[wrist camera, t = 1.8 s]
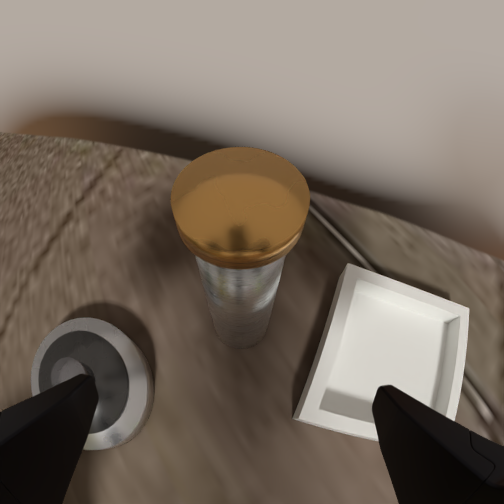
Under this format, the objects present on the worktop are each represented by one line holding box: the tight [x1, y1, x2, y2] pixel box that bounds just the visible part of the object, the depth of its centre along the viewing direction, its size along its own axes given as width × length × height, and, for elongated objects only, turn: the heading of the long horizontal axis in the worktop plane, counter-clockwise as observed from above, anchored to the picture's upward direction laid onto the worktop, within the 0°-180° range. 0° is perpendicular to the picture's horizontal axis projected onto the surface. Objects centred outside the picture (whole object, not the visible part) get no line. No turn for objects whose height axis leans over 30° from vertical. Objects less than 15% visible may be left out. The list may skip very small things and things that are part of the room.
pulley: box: [31, 318, 154, 450], centre depth 17 cm, size 10×10×4 cm
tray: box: [292, 263, 469, 441], centre depth 20 cm, size 12×12×2 cm
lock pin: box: [171, 147, 310, 349], centre depth 16 cm, size 5×5×14 cm
